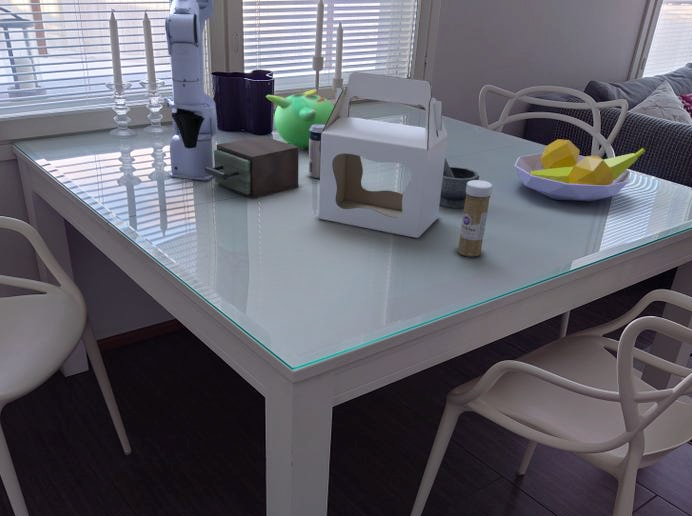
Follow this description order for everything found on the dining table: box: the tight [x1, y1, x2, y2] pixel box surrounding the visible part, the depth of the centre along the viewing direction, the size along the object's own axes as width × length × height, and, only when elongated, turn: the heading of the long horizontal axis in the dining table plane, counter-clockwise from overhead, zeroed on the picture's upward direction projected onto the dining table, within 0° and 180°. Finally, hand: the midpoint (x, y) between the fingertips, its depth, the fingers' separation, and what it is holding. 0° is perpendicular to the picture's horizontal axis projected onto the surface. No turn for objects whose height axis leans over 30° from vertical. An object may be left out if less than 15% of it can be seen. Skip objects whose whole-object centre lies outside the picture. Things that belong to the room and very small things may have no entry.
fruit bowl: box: [514, 138, 646, 202], centre depth 163 cm, size 28×27×11 cm
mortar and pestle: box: [439, 157, 480, 209], centre depth 153 cm, size 11×9×12 cm
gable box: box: [318, 71, 449, 239], centre depth 138 cm, size 22×13×28 cm, turn 66°
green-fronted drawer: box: [205, 148, 251, 195], centre depth 156 cm, size 17×11×7 cm, turn 135°
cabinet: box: [215, 135, 300, 199], centre depth 159 cm, size 14×13×9 cm
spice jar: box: [308, 124, 325, 180], centre depth 166 cm, size 5×5×12 cm
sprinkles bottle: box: [456, 179, 493, 258], centre depth 128 cm, size 5×5×14 cm
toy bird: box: [265, 89, 339, 149], centre depth 188 cm, size 18×17×15 cm
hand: (190, 147), depth 148 cm, fingers closed
